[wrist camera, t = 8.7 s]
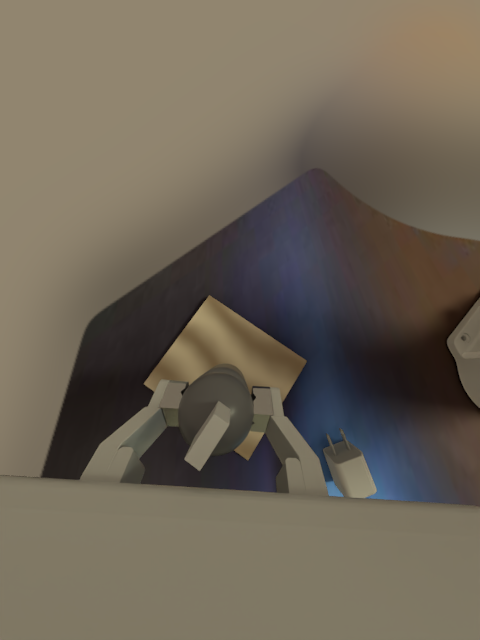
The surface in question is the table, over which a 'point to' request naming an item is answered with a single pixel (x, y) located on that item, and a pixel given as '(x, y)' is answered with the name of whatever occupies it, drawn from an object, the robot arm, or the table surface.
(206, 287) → the table surface
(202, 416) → the dark bottle
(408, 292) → the table surface
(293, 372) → the birch board
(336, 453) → the usb wall charger
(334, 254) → the table surface
